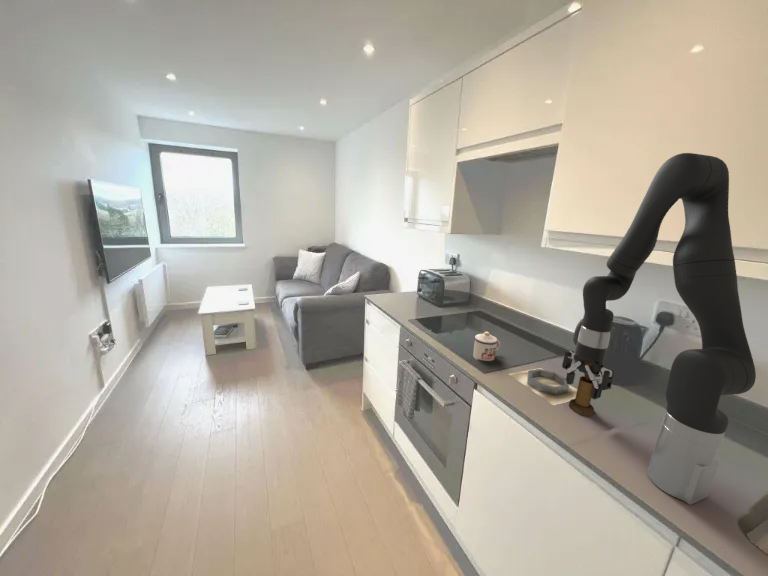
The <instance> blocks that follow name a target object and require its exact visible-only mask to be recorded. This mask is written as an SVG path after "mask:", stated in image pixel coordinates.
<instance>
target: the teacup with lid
mask: <svg viewBox="0 0 768 576" xmlns="http://www.w3.org/2000/svg"><path fill="white" fill-rule="evenodd" d="M500 346H501V342H500V341H499V340H498V338H497V337H496V336H493V335H492V334H490V332H489V331H484V333H478V334H476V335H475V336H474V345H473V355H472V358H474V360H475V361H476V360H479V361H485V362H491V361H494V360H495V359H496V353H497V351H498V350H499V349H500Z"/></svg>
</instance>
